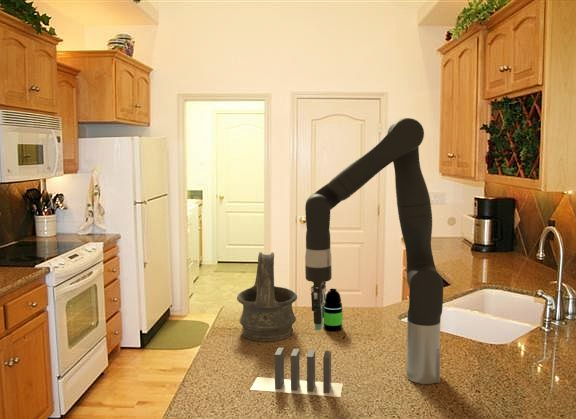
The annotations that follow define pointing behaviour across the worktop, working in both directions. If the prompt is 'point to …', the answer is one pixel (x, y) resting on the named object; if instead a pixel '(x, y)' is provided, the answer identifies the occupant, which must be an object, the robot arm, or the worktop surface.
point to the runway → (269, 385)
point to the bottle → (333, 311)
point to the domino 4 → (319, 326)
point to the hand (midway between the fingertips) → (318, 320)
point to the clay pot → (266, 305)
